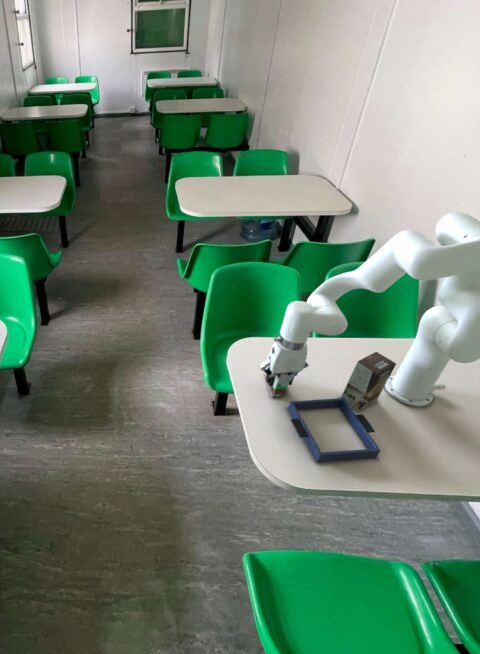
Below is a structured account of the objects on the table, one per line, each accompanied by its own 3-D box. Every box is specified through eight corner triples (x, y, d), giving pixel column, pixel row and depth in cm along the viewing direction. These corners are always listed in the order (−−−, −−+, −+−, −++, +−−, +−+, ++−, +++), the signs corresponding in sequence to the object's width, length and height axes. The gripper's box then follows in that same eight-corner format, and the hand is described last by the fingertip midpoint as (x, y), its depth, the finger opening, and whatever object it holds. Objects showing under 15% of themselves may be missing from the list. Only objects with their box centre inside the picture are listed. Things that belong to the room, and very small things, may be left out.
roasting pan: (347, 404, 130) (351, 397, 128) (384, 457, 115) (389, 450, 113) (279, 409, 129) (282, 401, 127) (307, 463, 114) (311, 455, 112)
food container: (293, 402, 131) (301, 380, 125) (273, 401, 132) (279, 378, 126) (285, 374, 141) (291, 352, 135) (265, 373, 142) (271, 351, 136)
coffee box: (358, 412, 128) (377, 374, 118) (339, 398, 132) (356, 360, 123) (377, 401, 131) (397, 363, 121) (358, 387, 136) (376, 350, 126)
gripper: (268, 350, 121) (256, 393, 132) (326, 346, 122) (310, 389, 132) (258, 333, 127) (248, 375, 138) (314, 330, 128) (299, 372, 139)
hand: (278, 382), depth 135 cm, fingers closed on food container, 5 cm apart
